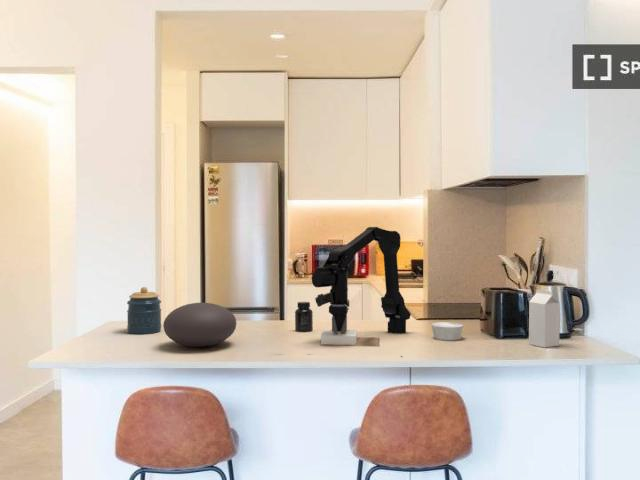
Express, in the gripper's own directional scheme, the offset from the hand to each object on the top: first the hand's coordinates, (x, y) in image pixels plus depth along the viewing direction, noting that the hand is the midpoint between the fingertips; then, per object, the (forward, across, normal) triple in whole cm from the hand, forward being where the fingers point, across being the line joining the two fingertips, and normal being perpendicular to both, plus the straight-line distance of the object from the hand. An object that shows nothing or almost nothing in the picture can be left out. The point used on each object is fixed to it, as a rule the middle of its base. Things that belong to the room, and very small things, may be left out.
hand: (339, 329), depth 211 cm
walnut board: (+5, 0, +4) cm, 6 cm away
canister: (+5, -18, -78) cm, 80 cm away
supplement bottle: (+5, -20, -15) cm, 26 cm away
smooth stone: (+5, +7, -48) cm, 49 cm away
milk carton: (+5, -4, +71) cm, 71 cm away
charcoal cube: (+2, 0, 0) cm, 2 cm away
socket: (+4, 0, 0) cm, 4 cm away
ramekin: (+5, -14, +39) cm, 42 cm away
